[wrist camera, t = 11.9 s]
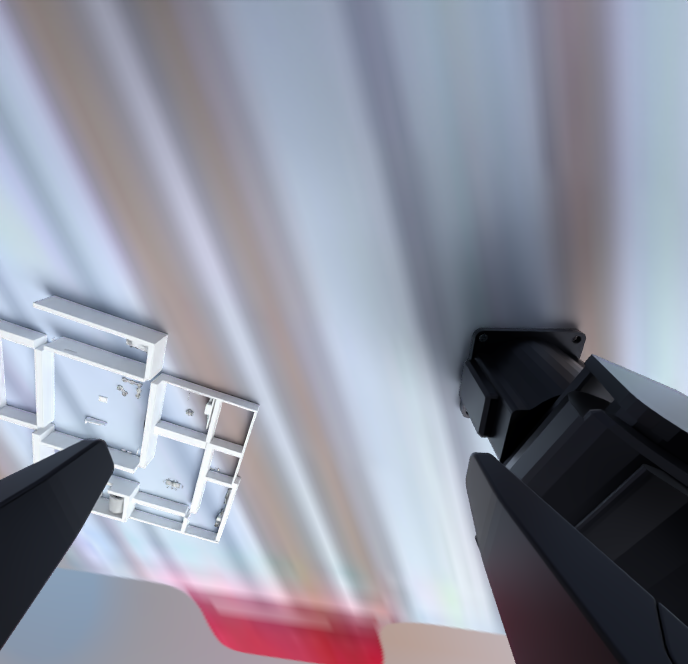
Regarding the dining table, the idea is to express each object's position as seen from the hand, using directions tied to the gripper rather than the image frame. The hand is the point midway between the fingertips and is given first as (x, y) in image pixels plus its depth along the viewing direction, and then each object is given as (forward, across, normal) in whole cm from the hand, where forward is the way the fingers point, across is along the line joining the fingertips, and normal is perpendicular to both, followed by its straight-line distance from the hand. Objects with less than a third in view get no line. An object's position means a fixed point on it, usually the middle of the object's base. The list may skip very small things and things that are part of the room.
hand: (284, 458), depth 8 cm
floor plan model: (+14, +19, +10) cm, 25 cm away
